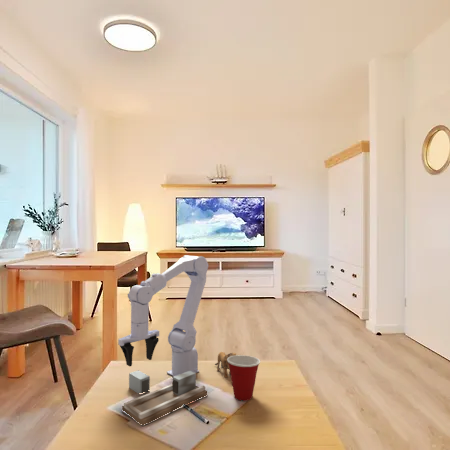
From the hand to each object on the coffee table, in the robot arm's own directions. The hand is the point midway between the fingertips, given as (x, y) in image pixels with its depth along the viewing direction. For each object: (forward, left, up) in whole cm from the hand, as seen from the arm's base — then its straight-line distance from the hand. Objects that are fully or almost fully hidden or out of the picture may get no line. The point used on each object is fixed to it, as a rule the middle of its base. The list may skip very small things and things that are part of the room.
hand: (139, 362), depth 113 cm
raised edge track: (-1, +14, -9) cm, 17 cm away
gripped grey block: (0, 0, -9) cm, 9 cm away
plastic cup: (-21, +28, -9) cm, 36 cm away
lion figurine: (-30, +12, -9) cm, 34 cm away
